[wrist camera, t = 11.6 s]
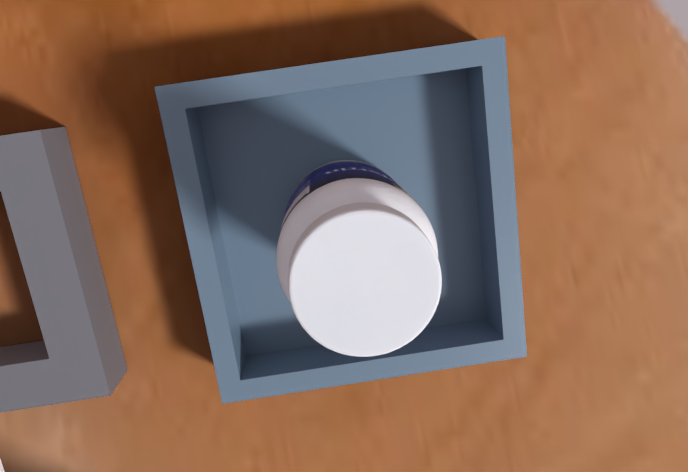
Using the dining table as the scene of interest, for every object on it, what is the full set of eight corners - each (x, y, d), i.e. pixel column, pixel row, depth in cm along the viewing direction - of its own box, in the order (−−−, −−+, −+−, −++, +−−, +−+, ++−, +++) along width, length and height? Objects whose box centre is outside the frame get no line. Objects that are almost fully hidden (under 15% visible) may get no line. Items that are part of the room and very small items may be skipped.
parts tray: (231, 372, 29) (222, 403, 26) (172, 87, 26) (154, 86, 23) (505, 330, 29) (526, 356, 26) (482, 42, 26) (504, 36, 23)
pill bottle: (426, 186, 27) (493, 236, 17) (377, 294, 28) (413, 400, 18) (311, 137, 26) (313, 162, 16) (265, 251, 27) (241, 338, 17)
